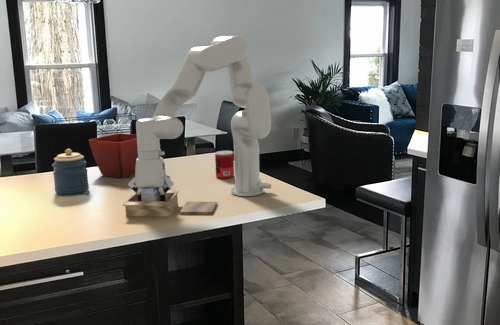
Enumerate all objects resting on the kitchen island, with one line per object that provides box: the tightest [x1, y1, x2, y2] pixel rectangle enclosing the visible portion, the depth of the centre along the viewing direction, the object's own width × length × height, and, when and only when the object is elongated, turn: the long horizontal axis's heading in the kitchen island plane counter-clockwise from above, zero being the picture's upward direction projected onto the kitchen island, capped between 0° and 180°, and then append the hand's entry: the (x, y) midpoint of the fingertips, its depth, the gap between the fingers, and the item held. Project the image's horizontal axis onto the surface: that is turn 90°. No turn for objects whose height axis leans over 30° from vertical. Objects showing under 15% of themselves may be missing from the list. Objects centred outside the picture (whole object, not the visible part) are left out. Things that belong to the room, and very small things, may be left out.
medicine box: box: [141, 188, 161, 202], centre depth 187 cm, size 8×4×9 cm, turn 168°
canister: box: [51, 148, 90, 197], centre depth 213 cm, size 13×13×18 cm
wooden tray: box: [122, 189, 180, 217], centre depth 188 cm, size 15×18×5 cm
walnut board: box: [179, 201, 218, 216], centre depth 189 cm, size 11×12×1 cm
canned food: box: [214, 150, 235, 180], centre depth 233 cm, size 8×8×11 cm
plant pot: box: [88, 132, 138, 179], centre depth 243 cm, size 19×19×17 cm
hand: (152, 204), depth 188 cm, fingers open, 6 cm apart
